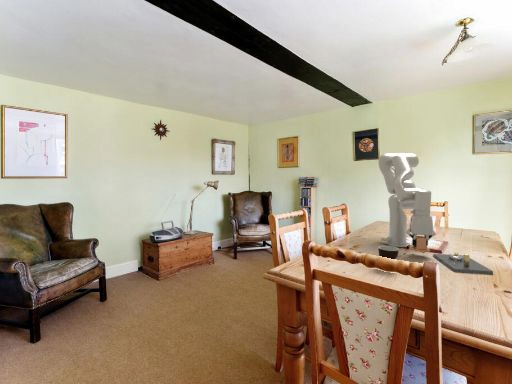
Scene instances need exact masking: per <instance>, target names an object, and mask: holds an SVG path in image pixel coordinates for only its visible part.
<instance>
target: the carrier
mask: <svg viewBox="0 0 512 384" xmlns="http://www.w3.org/2000/svg"><path fill="white" fill-rule="evenodd" d="M432 256H433V258H435V259H436V260H437V261H438V262H440V263H441V264H443V265H444V266H445V267H447V268H448V269H450V270H451V271H452V272H454V273H463V274H464V273H465V274H477V275H478V274H481V275H491V276H493V275H494V271H493V270H492V269H491V268H488V267H487V266H485V265H483V264H481V263H480V262H478V261H476V260H475V259H473V258H471V257H470V254H469V253H465V254H463V255H462V254H459V252H454V254H451V253H450V254H449V253H448V254H446V253H445V254H444V253H443V254H442V253H433V255H432Z"/></svg>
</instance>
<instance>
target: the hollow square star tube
mask: <svg viewBox="0 0 512 384" xmlns="http://www.w3.org/2000/svg"><path fill="white" fill-rule="evenodd" d="M416 240H417V241H416V247H414V246H413V245H412V244H411V245H410V244H409V246H408V247H409V248H408V250H411V251H413V252H419V253H430V252H431V248H430V247H427V248H426V238H425V237H424V235H417V236H416Z"/></svg>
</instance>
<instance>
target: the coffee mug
mask: <svg viewBox="0 0 512 384" xmlns="http://www.w3.org/2000/svg"><path fill="white" fill-rule="evenodd" d="M377 248H378V257H379V256H382V257H387V258H391V259H397V260H398V256H399V250H400V249H399V247H394V246H390V245H379V246H378V247H377Z"/></svg>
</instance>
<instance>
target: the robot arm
mask: <svg viewBox="0 0 512 384" xmlns="http://www.w3.org/2000/svg"><path fill="white" fill-rule="evenodd" d="M419 162H420V160H419V157H418V156H417V154H416V153H407V152H396V153H395V152H392V153H391V152H389V153H383V154H381V155H380V156H379V157H378V168H379V170H380V173H381V174H382V175H383V178H384V179H383V180H384V182H385V186H386V189H387V192H388V194H390V195H391V196H389V197H388V201H387V202H388V209H389V228H388V229H389V232H388V236H386V237H380V241H383V242H385V243H386V246H393V247H396V248H407V246H408V245H409V246H410V244H409V243H408V242H407V236H409V237H410V238H411V245H413V246H414V247H416V241H417V240H416V236H424V237H425V238H426V248H428V246H429V241H430V239H431V238H433V237H435V236H437V234H436V232H435V231H434V223H433V221H434V220H433V216H431V207H432V205H431V203H432V191H431V190H429V189H424V188H421V187H416V185H415V183H414V181H412V180H411V179H412V178H413V177H414V176H415V172H414V169H413V168H416V167H417V166H418V165H419ZM406 210H408V211H409V210H410V214H412V215H411V218H410V221H409V227H408V217H407V215H406V213H405V212H404V211H406ZM407 227H408V228H407ZM409 246H408V247H409Z"/></svg>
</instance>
